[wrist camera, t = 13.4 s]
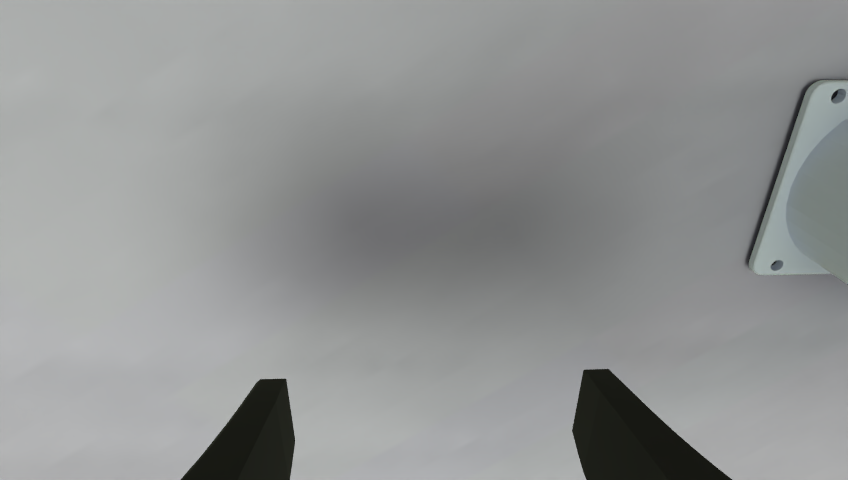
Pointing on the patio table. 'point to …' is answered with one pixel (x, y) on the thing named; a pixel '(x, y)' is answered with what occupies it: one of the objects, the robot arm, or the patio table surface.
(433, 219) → the patio table surface
